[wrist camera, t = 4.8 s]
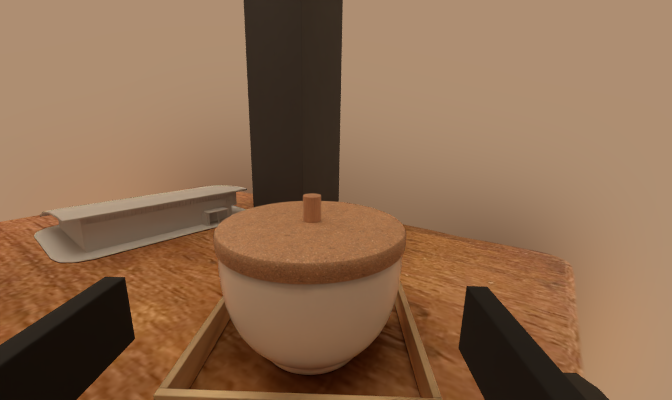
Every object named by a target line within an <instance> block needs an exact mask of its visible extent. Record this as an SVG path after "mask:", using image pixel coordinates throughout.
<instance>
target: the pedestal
mask: <svg viewBox="0 0 672 400" xmlns="http://www.w3.org/2000/svg"><path fill="white" fill-rule="evenodd" d="M342 3H343V2H342V0H244V15H245V34H246V35H245V37H246V57H247V78H248V98H249V119H250V140H251V160H252V181H253V202H254V207H258V206H262V205H267V204H273V203H281V202H290V201H303V195H304V194H310V193H314V194H320V195H321V201H335V202H338V200H339V198H338V197H339V151H340V150H339V149H340V148H339V145H340V101H341V51H342V50H341V49H342Z"/></svg>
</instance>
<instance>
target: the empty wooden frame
mask: <svg viewBox="0 0 672 400" xmlns="http://www.w3.org/2000/svg"><path fill="white" fill-rule="evenodd" d="M394 304H395V307H396V311H397V314H398V318H399V321H400V325H401V329H402V332H403V336H404V339H405V343H406V346H407V350H408V354H409V357H410V361H411V364H412V368H413V371H414V375H415V379H416V382H417V386H418V389H419V393H420V397H421V398H417V397H389V396H361V395H333V394H305V393H277V392H250V391H222V390H194V389H189V388H190V387H191V385H192V383H193V382H194V380H195V378H196V376H197V375H198V373H199V371H200V370H201V368H202V366H203V364H204V363H205V361H206V359H207V358H208V356H209V354H210V352H211V351H212V349H213V347H214V345H215V344H216V342H217V340H218V339H219V337H220V335H221V333H222V332H223V330H224V328H225V327H226V325H227V323H228V321H229V320H230V316H229V313H228V311H227V308H226V305H225V301H224V297H222V298H221V299H220V301H219V302H218V304H217V305H216V307H215V308H214V309H213V311H212V312H211V314H210V315H209V317H208V318H207V319H206V321H205V322H204V324H203V325H202V327H201V328H200V329H199V331H198V332H197V334H196V335H195V337H194V338H193V339H192V341H191V342H190V344H189V345H188V347H187V348H186V349H185V351H184V352H183V354H182V355H181V357H180V358H179V359H178V361H177V362H176V364H175V365H174V367H173V368H172V369H171V371H170V372H169V374H168V375H167V377H166V378H165V379H164V381H163V382H162V384H161V385H160V387H159V388H158V389H157V391H156V392H155V394H154V400H443V399H442V397H441V394H440V391H439V388H438V385H437V382H436V380H435V377H434V374H433V371H432V368H431V366H430V363H429V360H428V357H427V354H426V352H425V349H424V346H423V343H422V340H421V338H420V335H419V332H418V329H417V326H416V324H415V321H414V318H413V315H412V312H411V310H410V307H409V304H408V301H407V298H406V295H405V293H404V290H403V287H402V284H401V281H400V283H399V287H398V292H397V296H396V300H395V303H394Z"/></svg>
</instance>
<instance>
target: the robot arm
mask: <svg viewBox="0 0 672 400" xmlns="http://www.w3.org/2000/svg"><path fill="white" fill-rule="evenodd" d="M134 339H135V336H134V330H133V324H132V318H131V312H130V306H129V300H128V294H127V287H126V281H125V277H104V278H103V279H101V280H100V281H98V282H97V283H95V284H94V285H92V286H90V287H89V288H87V289H86V290H84V291H83V292H81V293H80V294H78V295H77V296H75V297H74V298H72V299H70V300H69V301H67V302H66V303H64V304H63V305H61V306H60V307H58V308H57V309H55V310H54V311H52V312H50V313H49V314H47V315H46V316H44V317H43V318H41V319H40V320H38V321H37V322H35V323H33V324H32V325H30V326H29V327H27V328H26V329H24V330H23V331H21V332H20V333H18V334H17V335H15V336H13V337H12V338H10V339H9V340H7V341H6V342H4V343H3V344H1V345H0V400H77V399H78V397H79V396H80V395H81V394H82V393H83V392H84V391H85V390H86V389H87V388H88V387H89V386H90V385H91V384H92V383H93V382H94V381H95V380H96V379H97V378H98V377H99V376H100V375H101V374H102V373H103V371H104V370H105V369H106V368H107V367H108V366H109V365H110V364H111V363H112V362H113V361H114V360H115V359H116V358H117V357H118V356H119V355H120V354H121V353H122V352H123V351H124V350H125V349H126V348H127V347H128V345H129V344H130V343H131V342H132V341H133V340H134ZM459 350H460V352H461V354H462V356H463V358H464V360H465V362H466V364H467V366H468V368H469V370H470V371H471V373H472V375H473V377H474V379H475V381H476V383H477V385H478V387H479V389H480V391H481V393H482V395H483V397H484V399H485V400H609V399H608V398H607V397H606V396H605V395H604V394H603V393H602V392H601V391H600V390H599V389H598V388H597V387H595V386H594V385H592V384H591V383H589V382H588V381H587V380H585V379H584V378H582V377H581V376H580V375H578V374H577V373H563V372H562V371H561V370H560V369H559V368H558V367H557V366H556V365H555V363H554V362H553V361H552V360H551V359H550V358H549V357H548V355H547V354H546V353H545V352H544V351H543V350H542V349H541V347H540V346H539V345H538V344H537V343H536V342H535V341H534V340H533V338H532V337H531V336H530V335H529V334H528V333H527V332H526V330H525V329H524V328H523V327H522V326H521V325H520V324H519V322H518V321H517V320H516V319H515V318H514V317H513V316H512V314H511V313H510V312H509V311H508V310H507V309H506V308H505V307H504V305H503V304H502V303H501V302H500V301H499V300H498V299H497V297H496V296H495V295H494V294H493V293H492V292H491V291H490V289H489V288H488V287H475V286H467V289H466V296H465V304H464V312H463V319H462V327H461V334H460V342H459Z"/></svg>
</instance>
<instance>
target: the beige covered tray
mask: <svg viewBox="0 0 672 400" xmlns="http://www.w3.org/2000/svg"><path fill="white" fill-rule="evenodd" d="M244 190H247V189H246V188H242V187H237V186H226V185H225V186H224V185H222V186H221V185H217V186H206V187H199V188H193V189H186V190H179V191H173V192H166V193H160V194H154V195H147V196H140V197H133V198H127V199H120V200H113V201H108V202H100V203H94V204H88V205H81V206H74V207H68V208H61V209H55V210H51V211H45V212H42V213H41V214H40V217H41V216H47V215H52V216H54V217H56V218H57V219H58V221H59V225H57V226H53V227H49V228H45V229H43V230H41V231H38V232H36V234H35V236H34V237H35V238H36V240H37V241H38V242H39V244H40V245H41V246H42V248H43V249H44V250H45V252H46V253H47V255H48V256H49V257H50V259H52V260H54V261H57V262H61V263H75V262H81V261H87V260H92V259H96V258H100V257H104V256H108V255H112V254H116V253H119V252H123V251H127V250H131V249H135V248H138V247H142V246H146V245H150V244H154V243H157V242H161V241H165V240H169V239H173V238H176V237H180V236H184V235H188V234H192V233H196V232H199V231H203V230H207V229H211V228H215V227H218V225H219V224H220V223H221V222H222V221H223V220H225V219H226V218H228V217H230V216H231V215H234V214H236V213H238V212H241V211H244V210H246V209H243V208H240V207H236V206H233V205H235V204H236V192H238V191H244Z"/></svg>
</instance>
